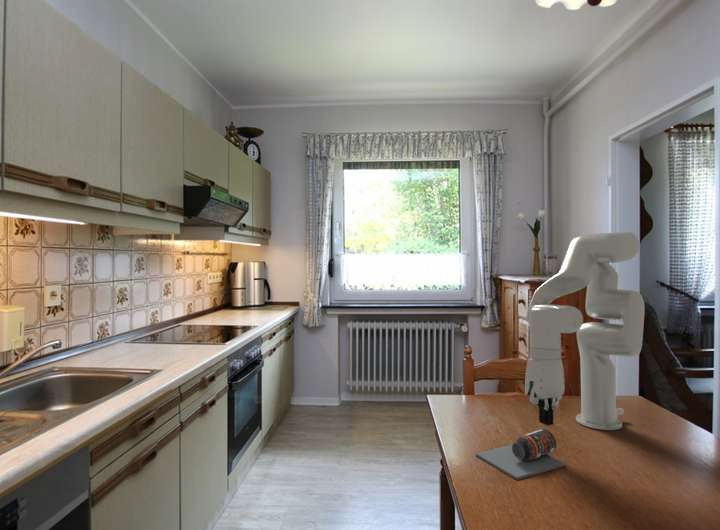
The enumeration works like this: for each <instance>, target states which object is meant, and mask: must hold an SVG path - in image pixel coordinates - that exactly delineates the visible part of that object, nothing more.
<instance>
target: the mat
mask: <svg viewBox="0 0 720 530" xmlns="http://www.w3.org/2000/svg"><path fill="white" fill-rule="evenodd" d="M512 445H513V443H512V444H509V445H505V446H501V447H495V448H493V449H489V450H485V451H480V452H476V453H475V456H476V457H477V458H479V459H480V460H482V461H484V462H486V463H487V464H489V465H490V466H493V467H494V468H496V469H497V470H499V471H501V472H503V473H504V474H506V475H508V476H509V477H511V478H513V479H514V480H516V481H519V480H521V479H525V478H527V477H529V478H530V477H532V476H535V475H538V474H542V473H546V472H549V471H551V470H552V471H553V470H555V469H558V468H562V467H565V466H566V463H565V462H564V461H561V460H559V459H557V458H554V457H553V456H551V455H549V454H547V455H544V456H542V457H539V458H537V459H534V460H530V461H529V460H525V459H518V458H517V457H516V456H515V455H514V454H513V452H512Z"/></svg>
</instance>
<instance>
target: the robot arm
mask: <svg viewBox="0 0 720 530" xmlns="http://www.w3.org/2000/svg"><path fill="white" fill-rule="evenodd" d="M639 249H640V242H639V239H638V237H637V235H636V234H635V233H634V232H631V231H620V232H618V231H617V232H616V231H615V232H604V233H603V232H602V233H590V234H585V235H581V236H577V237H575V238H573V239H572V240H571V241H570V242H569V246H568V248H567V249H566V252H565V254H564V257H563V258H564V259H563V261H562V263H561V265H560V268H559V271H558V272H557V274H555V275H553V276H552V277H550V278H549V279H548V280H546V281H545V282H544V283H542V284H541V285H540V286H539V287H538V288H537V289H535V291H534V293H533V295H532V297H531V299H530V302H529V304H528V307H527V311H526V322H527V325H528V326H529V355H530V356H529V358H528V359H527V363H526V368H525V379H524V381H525V382H524V393H525V395H526V396H527V397H529V399H528V400H529V403H530V404H531V403H532V404H534V405H536V408H538V422H539V423H540V424H543V425H546V426H553V425H554V410H555V409H556V404H557V402H558V401H560V400H561V399H562V398H563V395H564V394H565V372H564V365H563V360H562V334H573V333H576V341H577V347H578V351H579V358H580V360H579V362H580V404H581V405H580V407H581V408H580V409H581V410H580V413H578V414H576V415H575V420H576V422H577V423H578V424H580V425H582V426H584V427H588V428H591V429H595V430H599V431H600V430H602V431H617V430H621V429H622V428H623V422H622V421H621V420H620V419H618V416H619V415H623V414H625V410H624V409H623V408H622V407H617V395H616V394H617V393H616V388H617V387H616V368H615V366H614V363H613V361H612V360H611V358H610V357H609V356H610V355H611V356H617V357H624V358H625V357H626V358H636V357H637V356H638V355H640V353H641V351H642V347H643V338H644V337H643V336H644V322H645V311H646V310H645V301H644V298H643V296H642V294H641V293H640V292H638V291H635V290H632V289H619V288H618V287H619V274H618V272H617V270H616V269H615V267H613V266H612V264H613V263H622V262H627V261H629V260H632V259H634V258H635V257H636V256H637V254H638V253H639ZM585 288H586V293H585V295H586V296H585V306H584V307H585V312H586V314H587V316H589V317H590V318H593V319H599V320H608V321H609V320H611V321H613V320H614V321H623V322H622V323H623V324H618V323H610V322H607V323H606V322H594V321H590V322H585V323H584V316H583V313H582V312H581V310H579V308H576V307H575V306H572V305H563V304H561V305H560V304H551V303H552V302H553V301H554V300H556V299H558V298H560V297H563V296H566V295H569V294H572V293H575V292H578V291H579V290H583V289H585ZM608 355H609V356H608Z"/></svg>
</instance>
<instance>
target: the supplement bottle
mask: <svg viewBox="0 0 720 530" xmlns="http://www.w3.org/2000/svg"><path fill="white" fill-rule="evenodd" d="M512 444H513V445H512ZM512 444H511V445H512V452H513V454H514V455H515V456H516V457H517V458H518V459H525V460H529V461H530V460H534V459H537V458H539V457H542V456H544V455H549V454H552V453H554V452H555V450H556V448H557V444H558V443H557V441H556V438H555V436H554V435H553V433H552V432H551V431H550V430H548V429H545V428H540V429H538V430H534V431H531V432H527V433H525V434H523V435H520V436H518V437H517V438H516V441H515V442H513V443H512Z"/></svg>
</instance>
